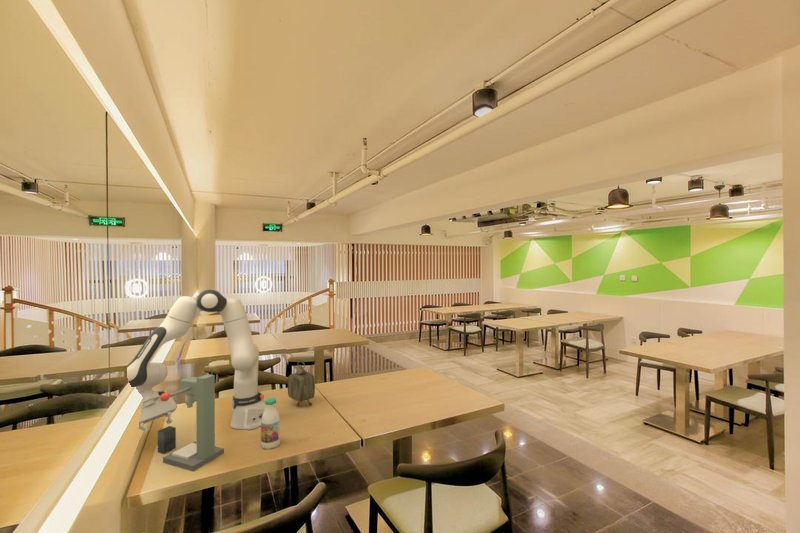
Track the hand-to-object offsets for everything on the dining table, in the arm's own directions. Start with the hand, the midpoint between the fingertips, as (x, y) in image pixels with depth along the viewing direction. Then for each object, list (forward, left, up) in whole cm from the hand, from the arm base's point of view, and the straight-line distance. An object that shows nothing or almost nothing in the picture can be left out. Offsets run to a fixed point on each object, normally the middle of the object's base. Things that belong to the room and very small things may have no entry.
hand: (159, 427), depth 150 cm
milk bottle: (-41, +24, -9) cm, 48 cm away
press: (-9, +20, -9) cm, 23 cm away
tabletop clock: (-66, -13, -9) cm, 67 cm away
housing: (-3, +4, -9) cm, 10 cm away
